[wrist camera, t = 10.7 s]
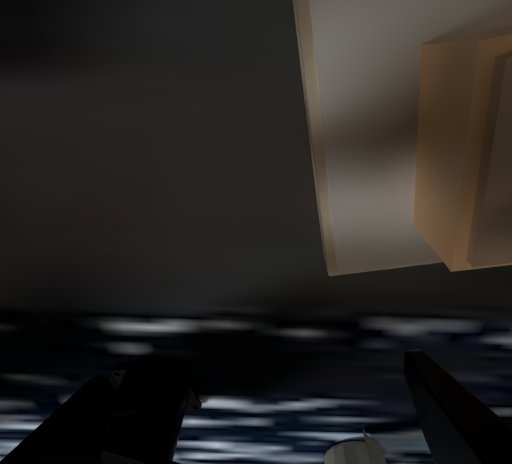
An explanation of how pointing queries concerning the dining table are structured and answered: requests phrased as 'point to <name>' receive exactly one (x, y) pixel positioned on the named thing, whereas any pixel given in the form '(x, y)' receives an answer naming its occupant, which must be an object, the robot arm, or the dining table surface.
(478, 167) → the housing
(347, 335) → the dining table surface
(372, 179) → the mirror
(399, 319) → the dining table surface
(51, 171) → the dining table surface
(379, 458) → the paper towel roll
